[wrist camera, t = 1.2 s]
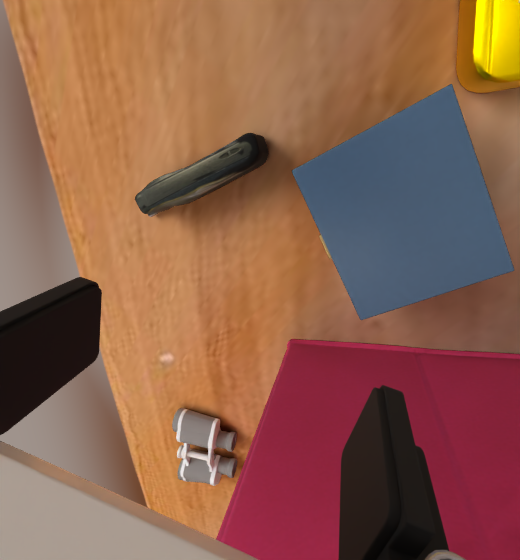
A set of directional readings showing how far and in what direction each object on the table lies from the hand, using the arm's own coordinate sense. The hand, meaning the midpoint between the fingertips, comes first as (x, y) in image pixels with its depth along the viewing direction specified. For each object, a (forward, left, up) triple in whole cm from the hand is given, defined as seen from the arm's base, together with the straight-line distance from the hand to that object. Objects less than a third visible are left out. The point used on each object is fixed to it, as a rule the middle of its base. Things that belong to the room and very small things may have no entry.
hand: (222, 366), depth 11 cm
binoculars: (+22, -26, -24) cm, 42 cm away
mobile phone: (-9, -8, -24) cm, 27 cm away
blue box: (+1, +7, -24) cm, 25 cm away
